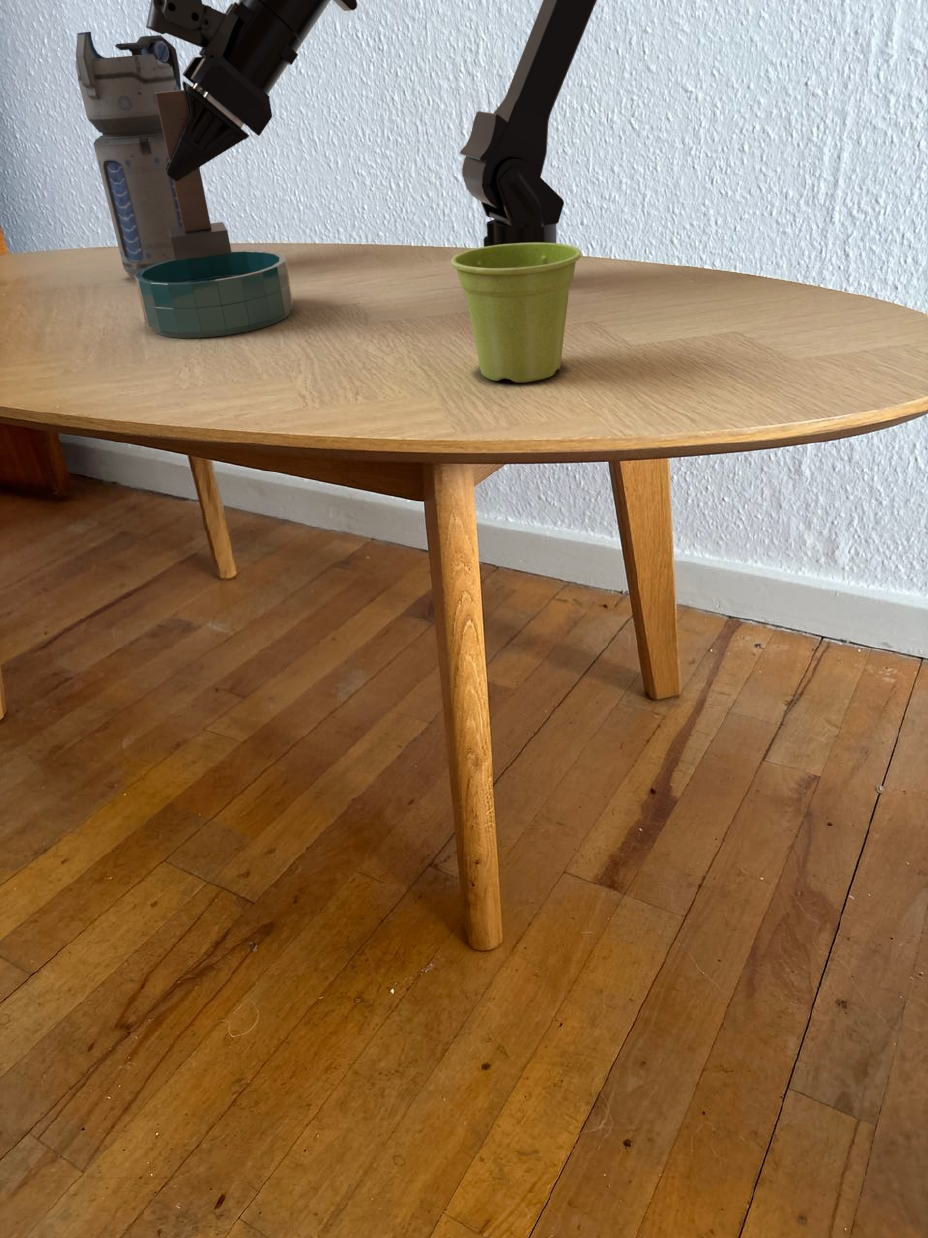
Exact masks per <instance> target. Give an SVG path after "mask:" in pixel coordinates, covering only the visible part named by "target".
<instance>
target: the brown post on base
mask: <svg viewBox="0 0 928 1238" xmlns="http://www.w3.org/2000/svg"><path fill="white" fill-rule="evenodd" d="M155 96H156V101H157V106H158V110H159V115H160V120H161V125H162V129H163V134H164V139H165V144H166V148H167V153H168V158H169V163H170V161H171V159H172V156H173V154H174V151H175V149H176V146H177V144H178V142H179V139H180V137H181V134H182V132H183V129H184V127H185V124H186V122H187V120H188V117H189V111H188V106H187V101H186V96H185V91H184V89H181V90H174V91H163V92H155ZM173 182H174V186H175V191H176V196H177V201H178V205H179V210H180V215H181V219H182V224H183V227H177V228H169V233H170V238H171V243H172V247H173V252H174V256H175V260H176V261H177V260H185V259H193V258H201V257H208V256H216V255H224V254H231V253H232V252H231V251H232V248H231V247H232V246H231V241H230V237H229V231H228V229H227V227H226V225H225V223H224V222H223V221H219V222H211V219H210V214H209V209H208V203H207V198H206V193H205V188H204V183H203V177H202V173H201V167H199V168H198V169H196V170H194V171H193V172H191V173H190V174H188V175H187V176H185V177H183V178H182V179H180V180H179V181H175V180H173Z"/></svg>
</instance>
